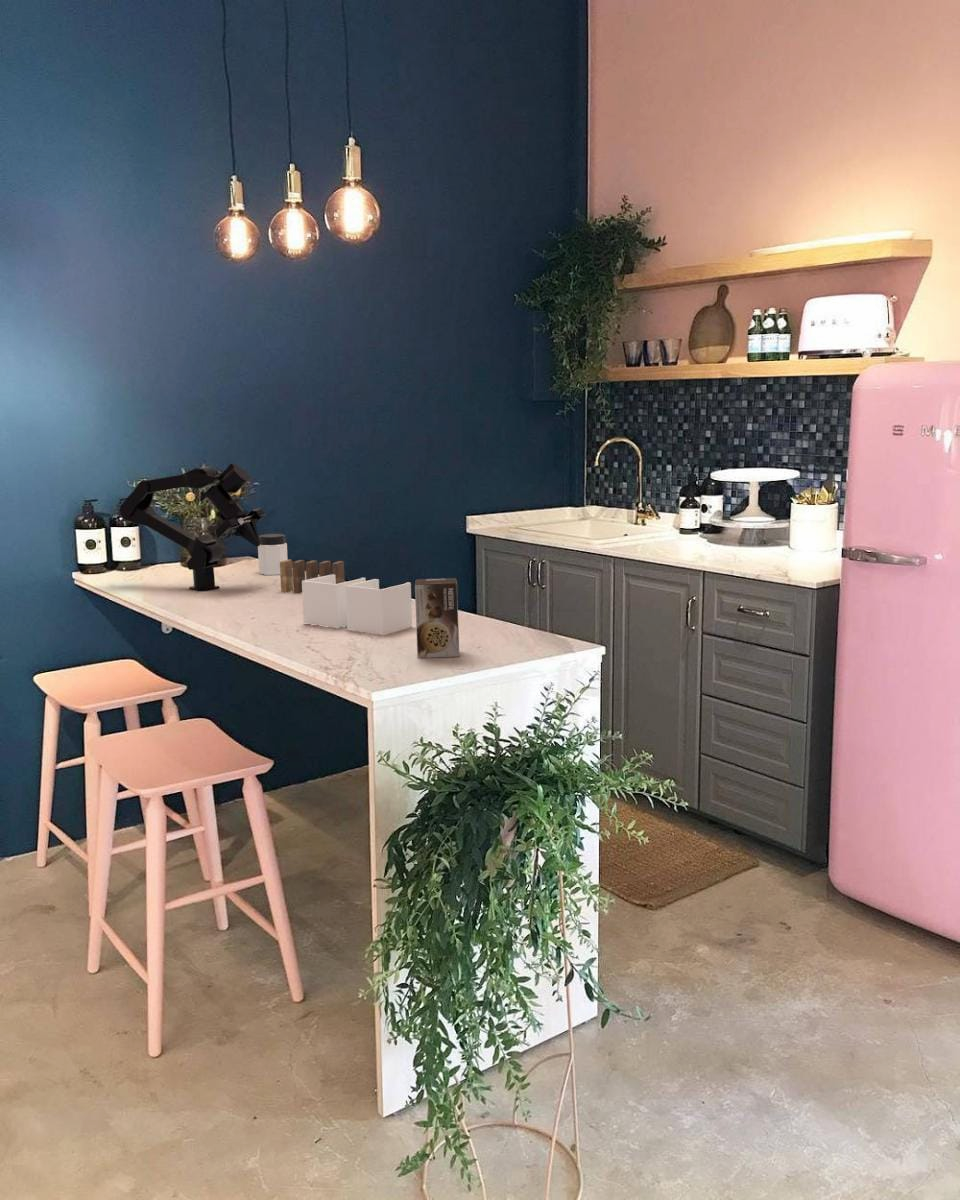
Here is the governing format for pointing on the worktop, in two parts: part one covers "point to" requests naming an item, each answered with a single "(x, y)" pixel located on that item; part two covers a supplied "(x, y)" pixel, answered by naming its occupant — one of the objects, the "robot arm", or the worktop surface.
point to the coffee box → (437, 618)
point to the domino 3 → (311, 569)
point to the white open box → (357, 605)
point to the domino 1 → (286, 575)
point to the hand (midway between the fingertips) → (258, 545)
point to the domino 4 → (324, 568)
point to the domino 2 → (298, 575)
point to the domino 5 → (338, 571)
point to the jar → (271, 553)
